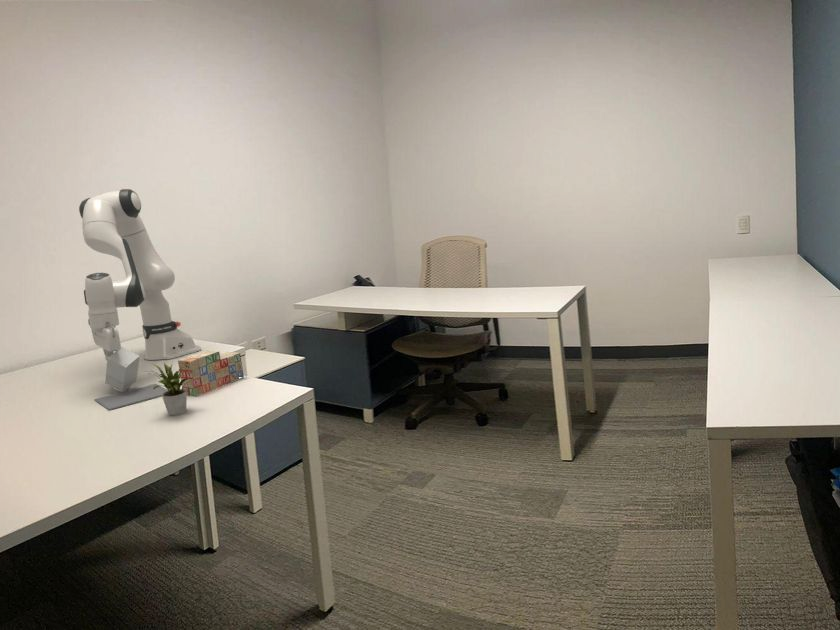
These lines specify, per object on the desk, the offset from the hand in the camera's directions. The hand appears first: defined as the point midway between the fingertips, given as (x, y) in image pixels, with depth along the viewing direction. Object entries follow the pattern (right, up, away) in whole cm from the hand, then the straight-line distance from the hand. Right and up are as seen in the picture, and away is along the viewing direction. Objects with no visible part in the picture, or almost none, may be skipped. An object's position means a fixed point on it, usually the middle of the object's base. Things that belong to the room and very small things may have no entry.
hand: (109, 360), depth 212 cm
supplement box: (+2, -8, +3) cm, 9 cm away
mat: (+11, -12, -6) cm, 17 cm away
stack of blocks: (+36, -9, 0) cm, 37 cm away
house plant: (+32, -14, -25) cm, 43 cm away
